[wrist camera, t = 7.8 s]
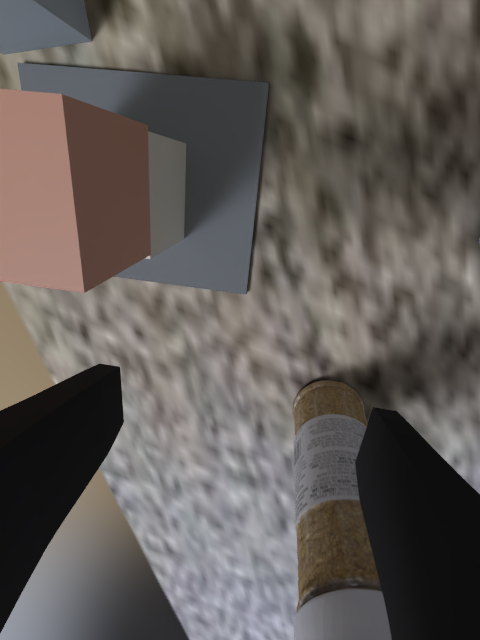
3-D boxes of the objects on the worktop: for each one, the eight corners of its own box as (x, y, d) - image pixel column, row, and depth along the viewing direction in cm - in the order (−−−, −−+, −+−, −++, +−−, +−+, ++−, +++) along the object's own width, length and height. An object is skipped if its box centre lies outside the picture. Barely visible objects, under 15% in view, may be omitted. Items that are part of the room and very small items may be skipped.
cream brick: (186, 143, 16) (147, 130, 12) (184, 238, 18) (150, 259, 13) (96, 134, 16) (26, 119, 12) (103, 228, 18) (45, 245, 14)
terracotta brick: (147, 125, 11) (61, 93, 7) (150, 254, 13) (84, 292, 9) (26, 114, 12) (-127, 78, 8) (45, 241, 14) (-67, 272, 9)
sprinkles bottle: (348, 440, 22) (421, 764, 10) (283, 422, 22) (276, 721, 10) (374, 387, 20) (506, 707, 8) (303, 367, 20) (325, 654, 8)
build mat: (269, 84, 15) (268, 82, 14) (246, 292, 19) (246, 294, 19) (22, 64, 16) (17, 62, 15) (52, 266, 20) (48, 267, 20)
